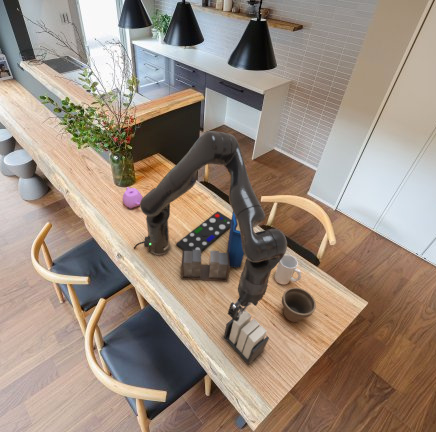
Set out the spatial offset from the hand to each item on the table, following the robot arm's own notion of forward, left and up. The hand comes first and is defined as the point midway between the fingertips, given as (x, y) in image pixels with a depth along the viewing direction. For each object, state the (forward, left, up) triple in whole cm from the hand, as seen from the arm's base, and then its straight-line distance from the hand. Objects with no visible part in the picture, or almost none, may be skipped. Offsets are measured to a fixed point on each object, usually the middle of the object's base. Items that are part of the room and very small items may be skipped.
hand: (244, 311), depth 97 cm
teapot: (-50, +70, -20) cm, 88 cm away
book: (+2, +41, -20) cm, 46 cm away
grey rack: (-12, +28, -20) cm, 36 cm away
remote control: (-11, +50, -20) cm, 55 cm away
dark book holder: (+2, -2, -20) cm, 20 cm away
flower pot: (+22, +11, -20) cm, 32 cm away
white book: (0, 0, -19) cm, 19 cm away
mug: (+22, +26, -20) cm, 39 cm away
